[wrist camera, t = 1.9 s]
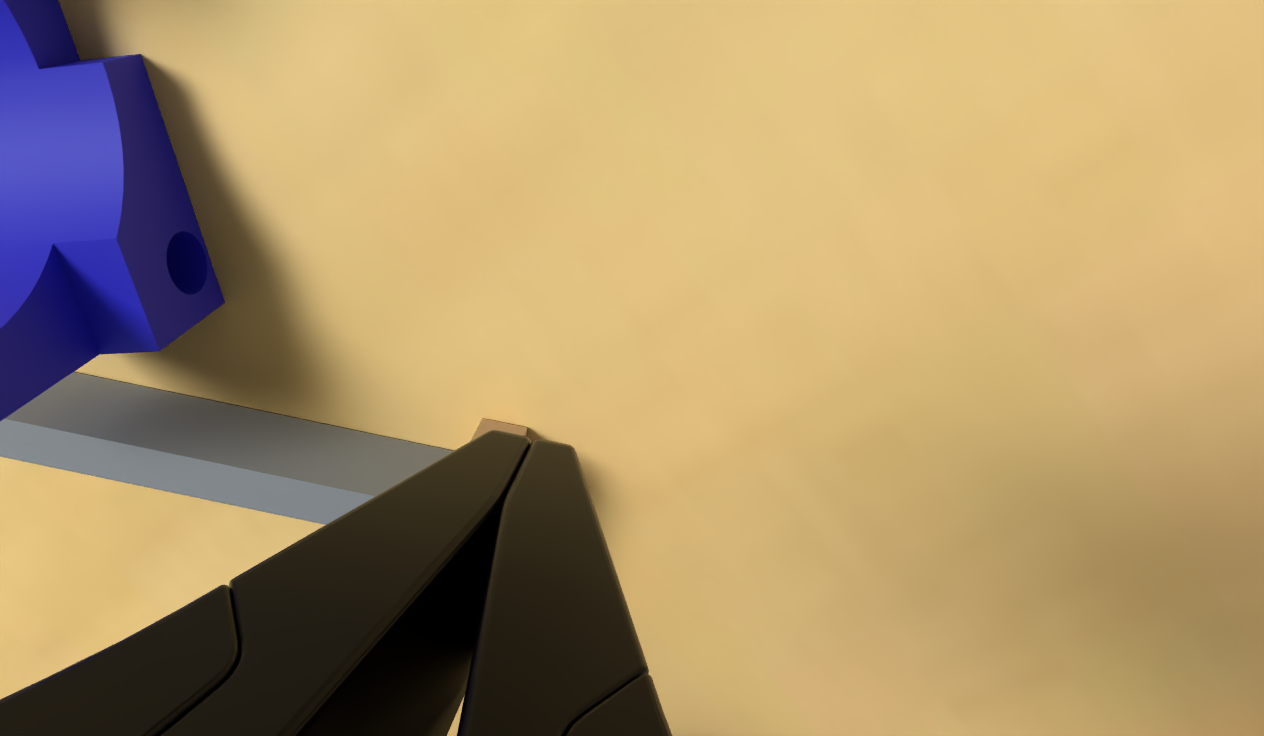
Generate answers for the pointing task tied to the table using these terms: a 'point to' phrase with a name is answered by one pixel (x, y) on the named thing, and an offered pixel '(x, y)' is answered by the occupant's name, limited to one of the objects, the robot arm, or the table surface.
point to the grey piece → (212, 448)
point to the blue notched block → (86, 210)
